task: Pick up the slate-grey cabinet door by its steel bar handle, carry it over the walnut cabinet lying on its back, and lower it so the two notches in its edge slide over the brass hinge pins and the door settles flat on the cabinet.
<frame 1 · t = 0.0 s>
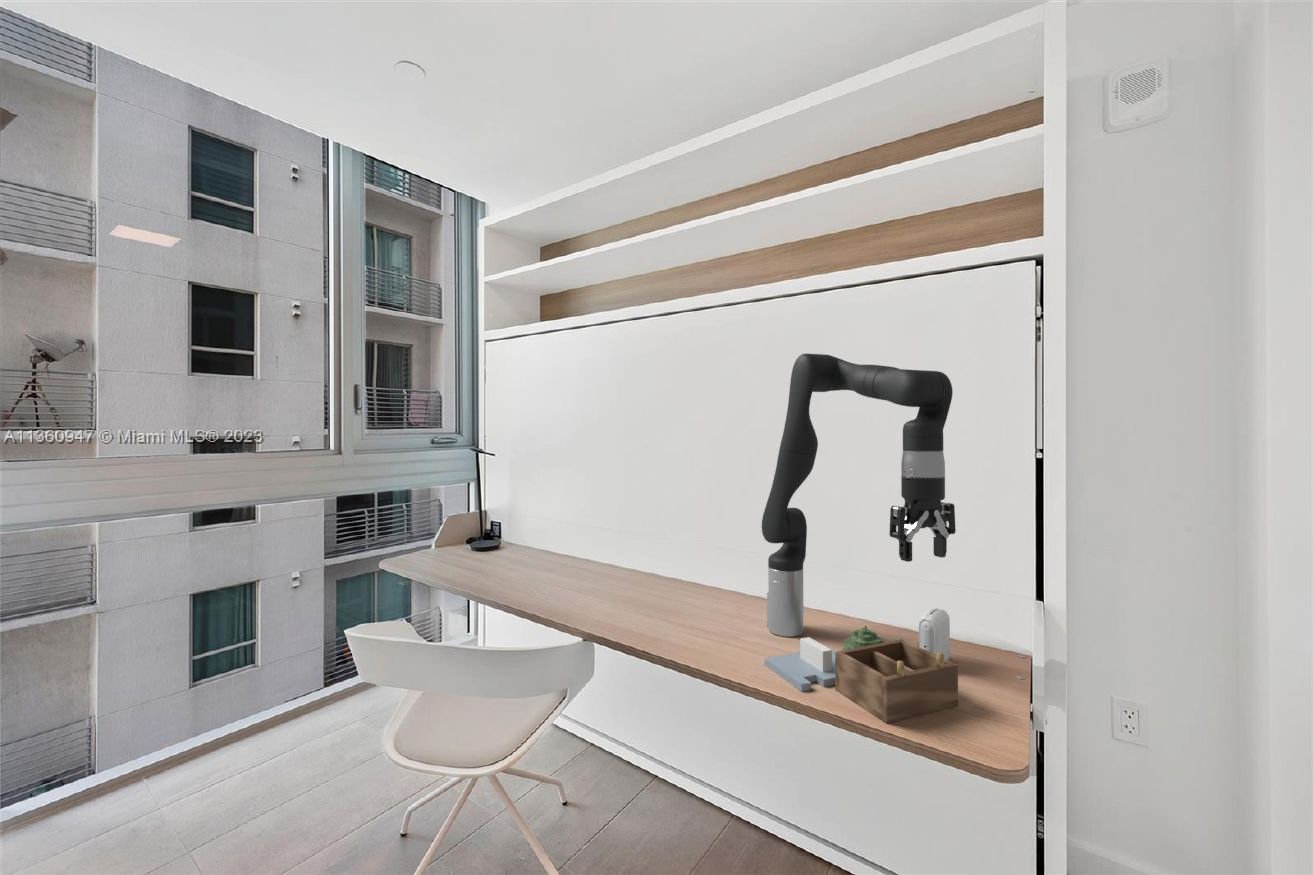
hand: (923, 558, 103), 29 cm above the table, tool pointing down, fingers open, 8 cm apart
decorative artifact: (865, 655, 129), on the table
photo printer: (934, 664, 124), on the table
door: (815, 670, 120), on the table
cabinet: (894, 697, 108), on the table
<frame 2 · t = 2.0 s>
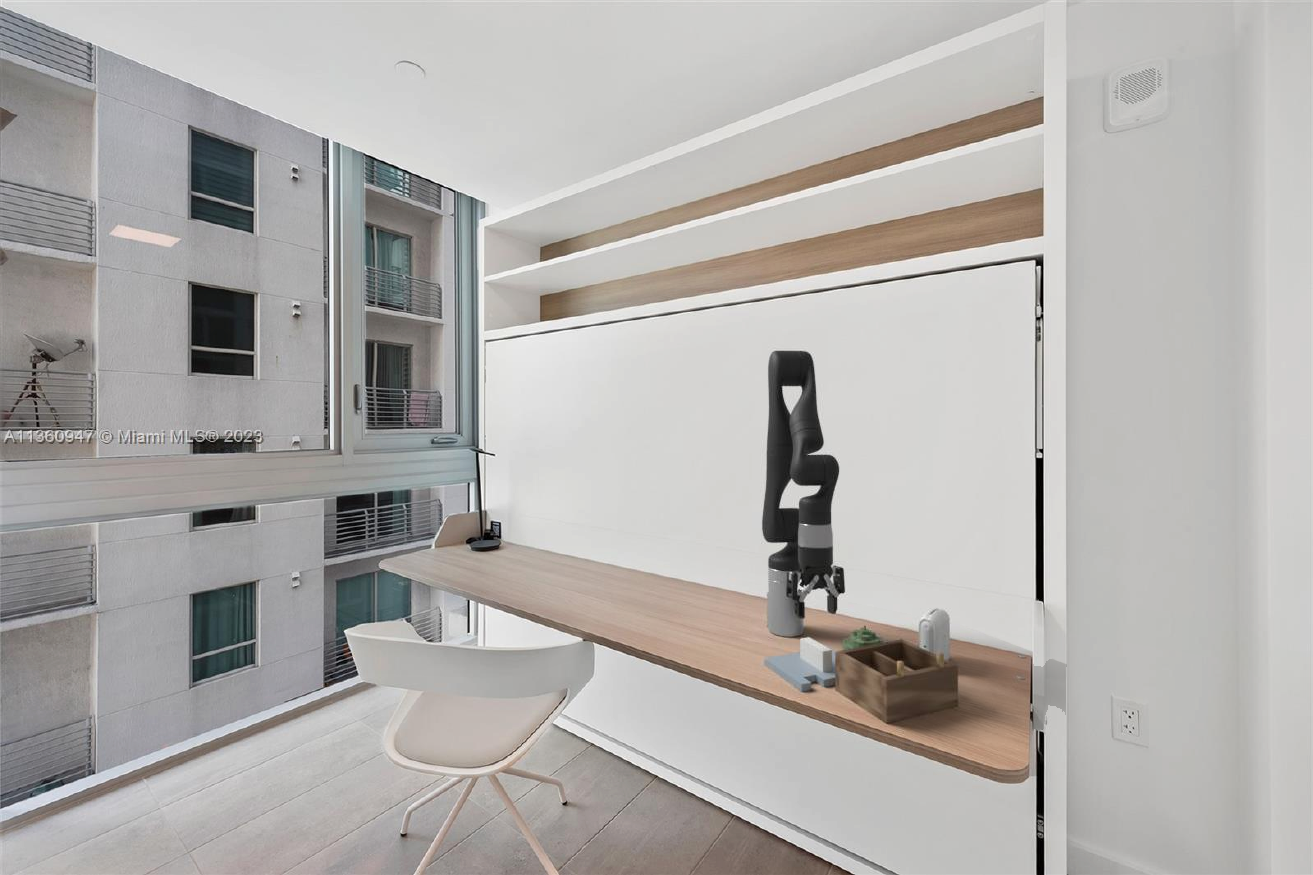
hand: (816, 615, 120), 13 cm above the table, tool pointing down, fingers open, 8 cm apart
nothing on the table moved.
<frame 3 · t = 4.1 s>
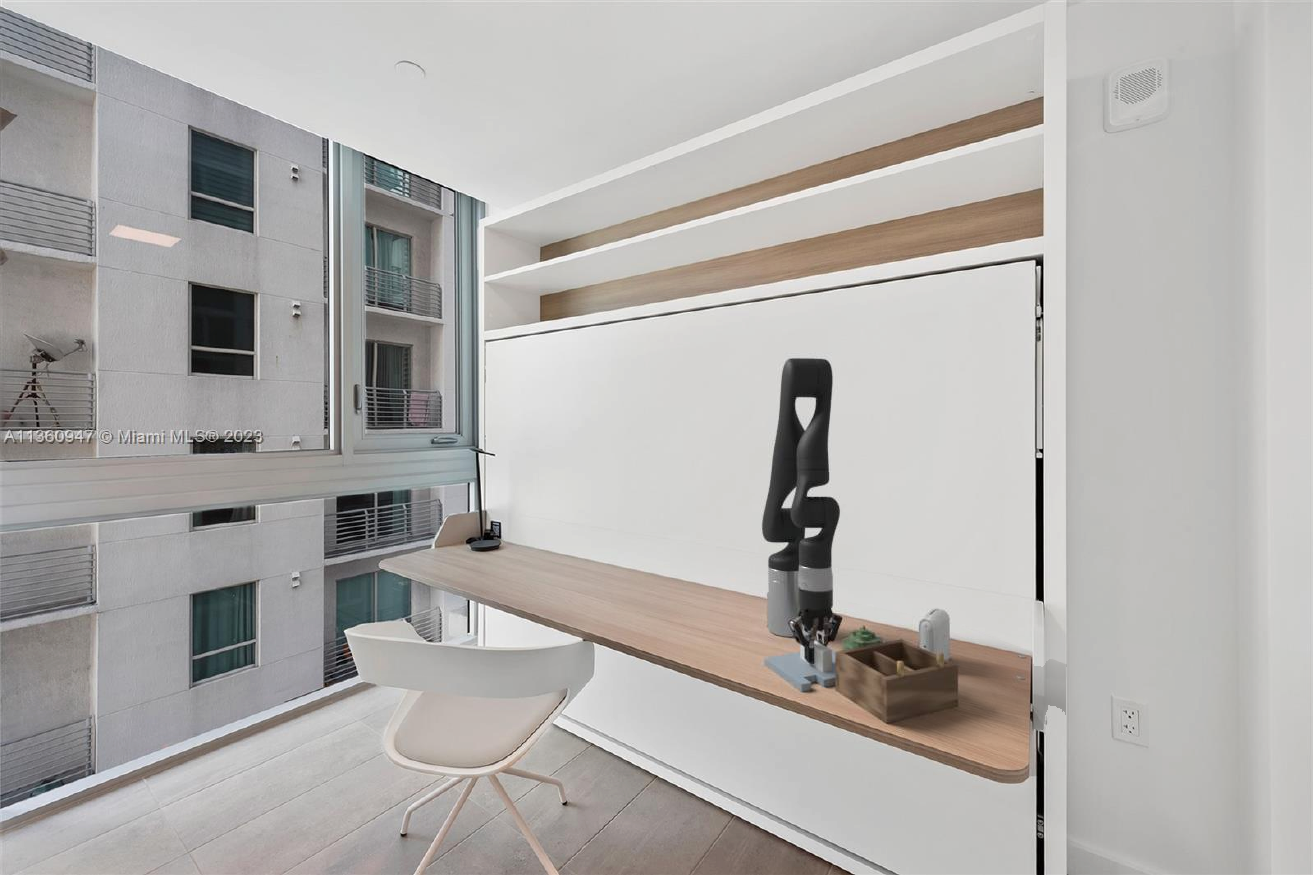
hand: (815, 661, 120), 2 cm above the table, tool pointing down, fingers closed on door, 2 cm apart
door: (815, 670, 120), on the table, touching gripper
everything else where it was.
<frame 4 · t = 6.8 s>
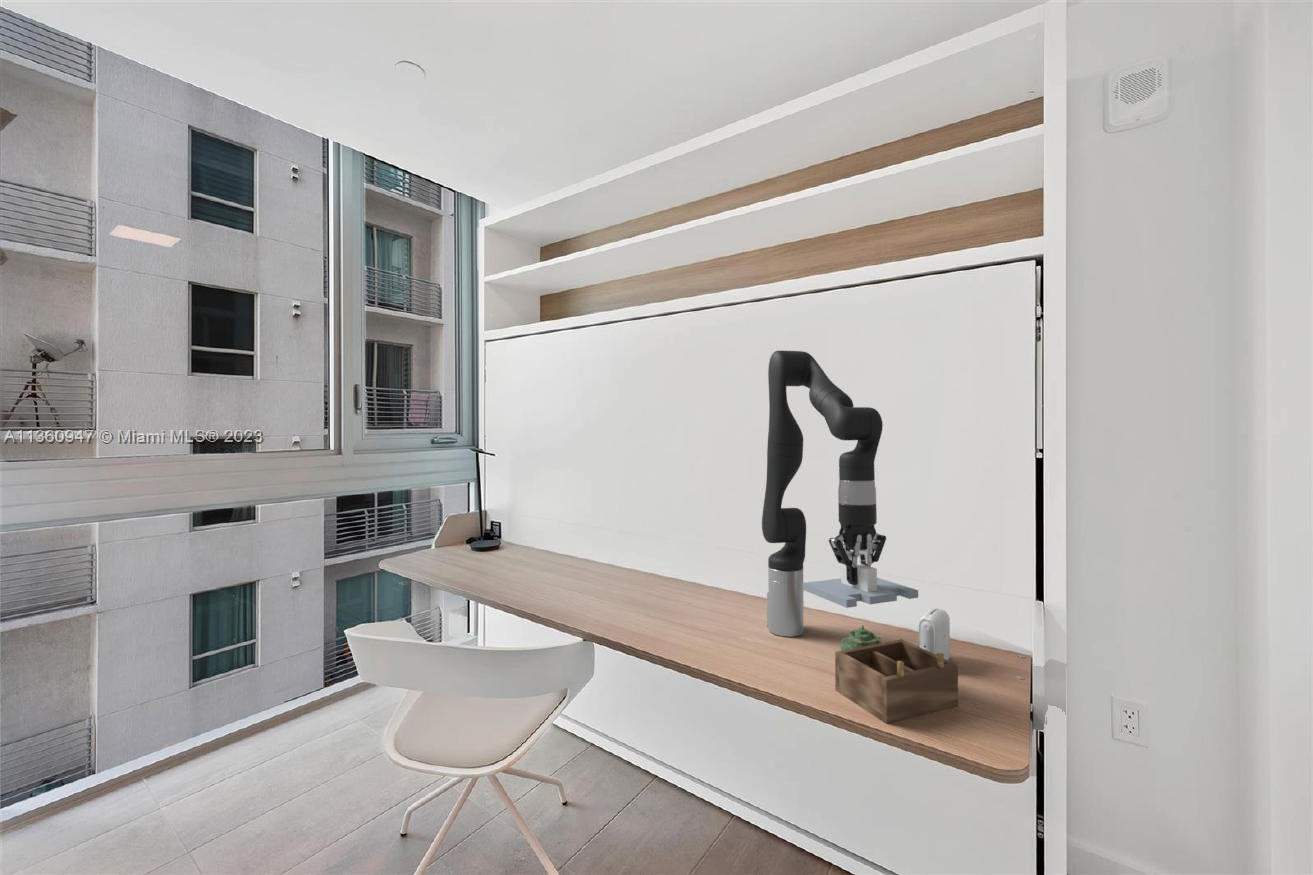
hand: (858, 583, 113), 22 cm above the table, tool pointing down, fingers closed on door, 2 cm apart
door: (858, 593, 113), point 20 cm above the table, touching gripper
everything else where it was.
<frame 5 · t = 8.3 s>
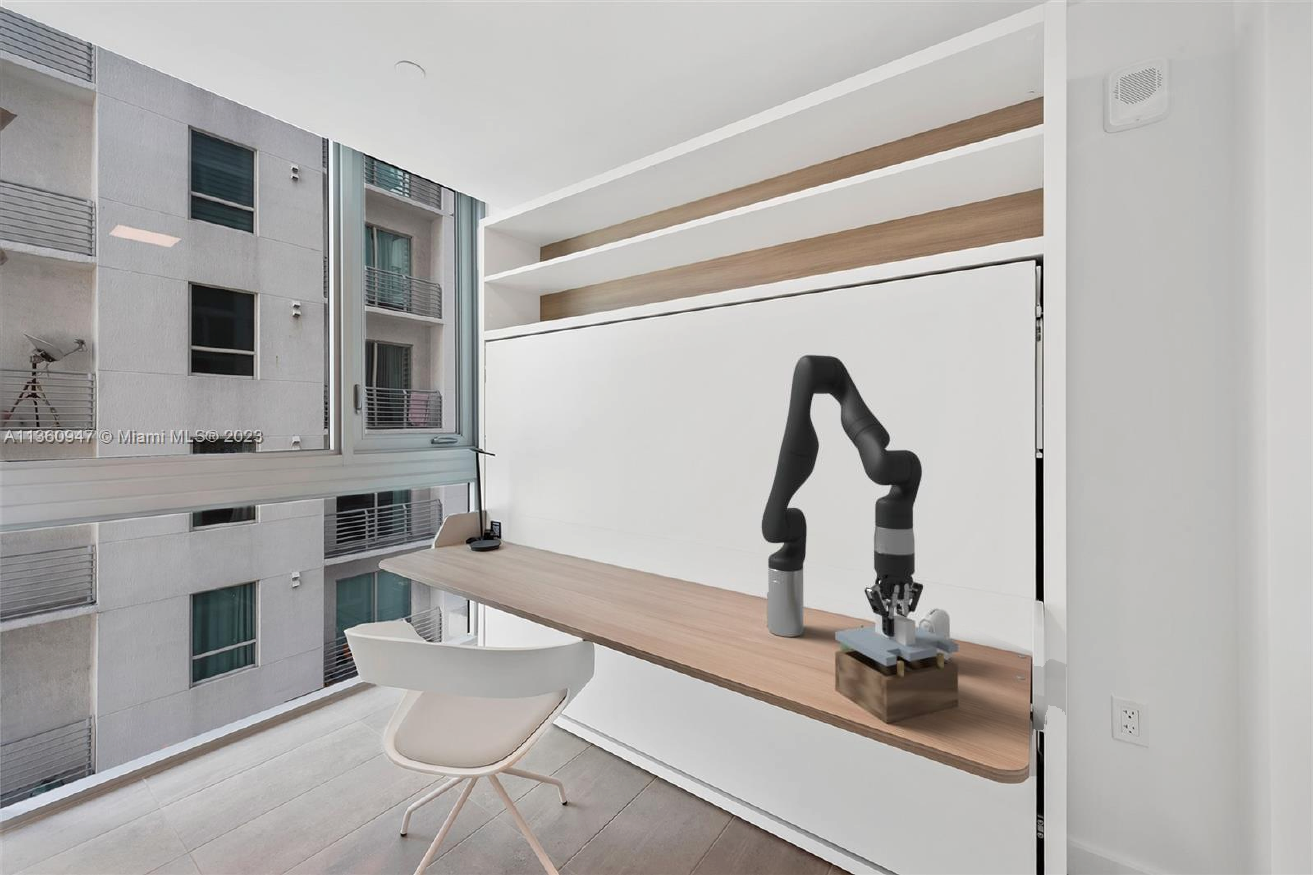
hand: (894, 634, 108), 13 cm above the table, tool pointing down, fingers closed on door, 2 cm apart
door: (894, 645, 108), point 11 cm above the table, touching gripper
everything else where it was.
when the fingers open (11 cm above the table, at t = 9.6 s): door stays where it is, resting on cabinet.
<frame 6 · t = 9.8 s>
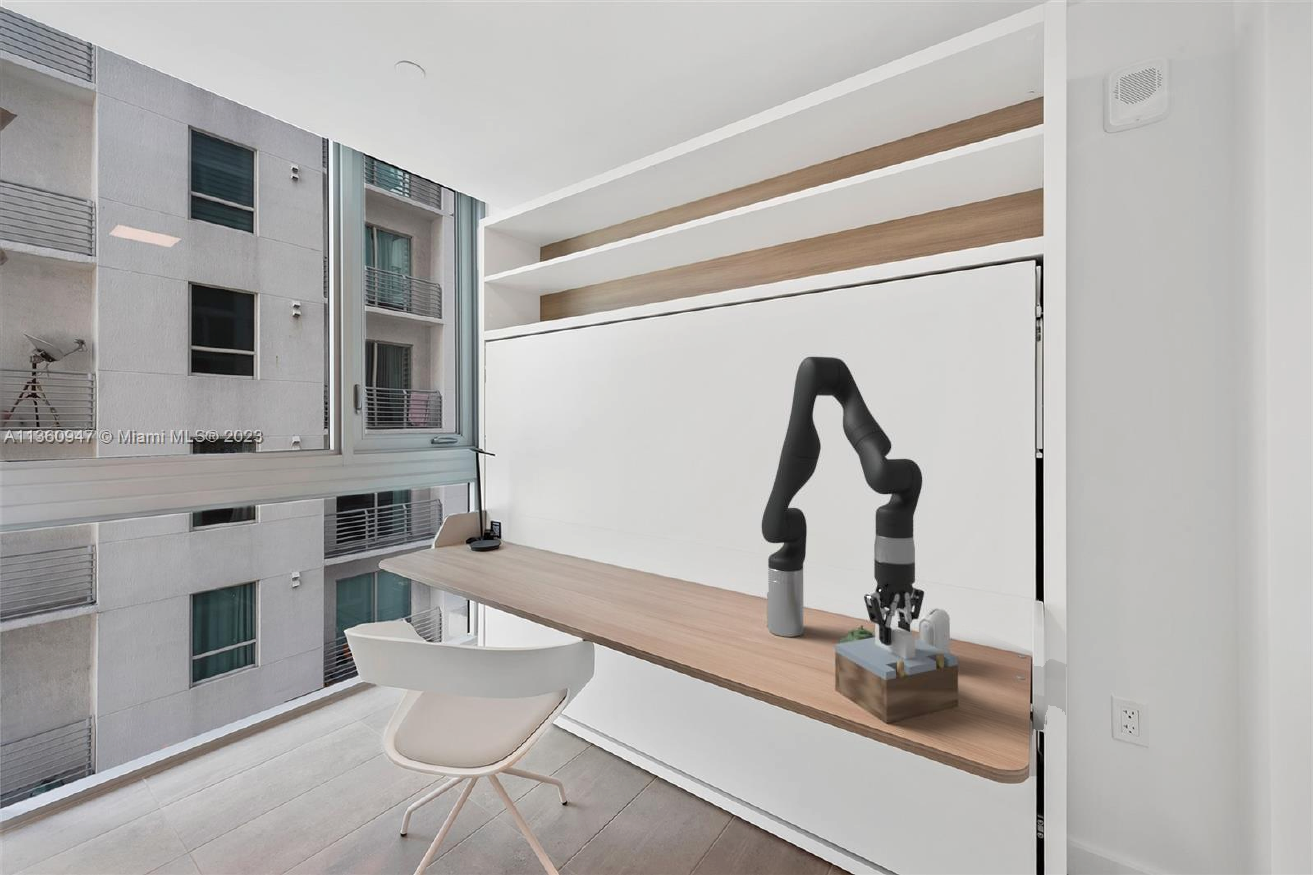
hand: (894, 642, 108), 11 cm above the table, tool pointing down, fingers open, 4 cm apart
door: (894, 657, 108), point 8 cm above the table, touching cabinet
everything else where it was.
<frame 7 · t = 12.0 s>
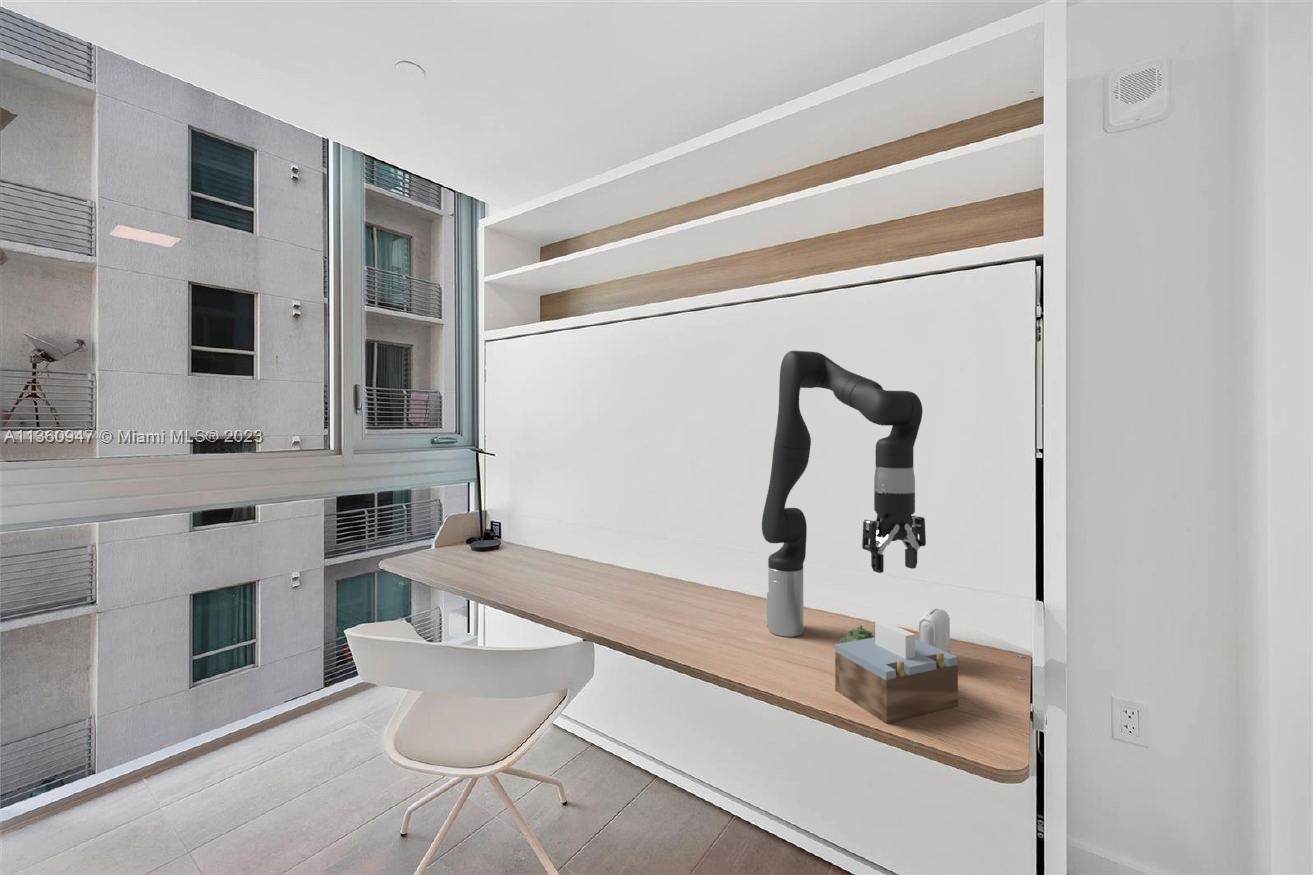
hand: (894, 569, 108), 26 cm above the table, tool pointing down, fingers open, 8 cm apart
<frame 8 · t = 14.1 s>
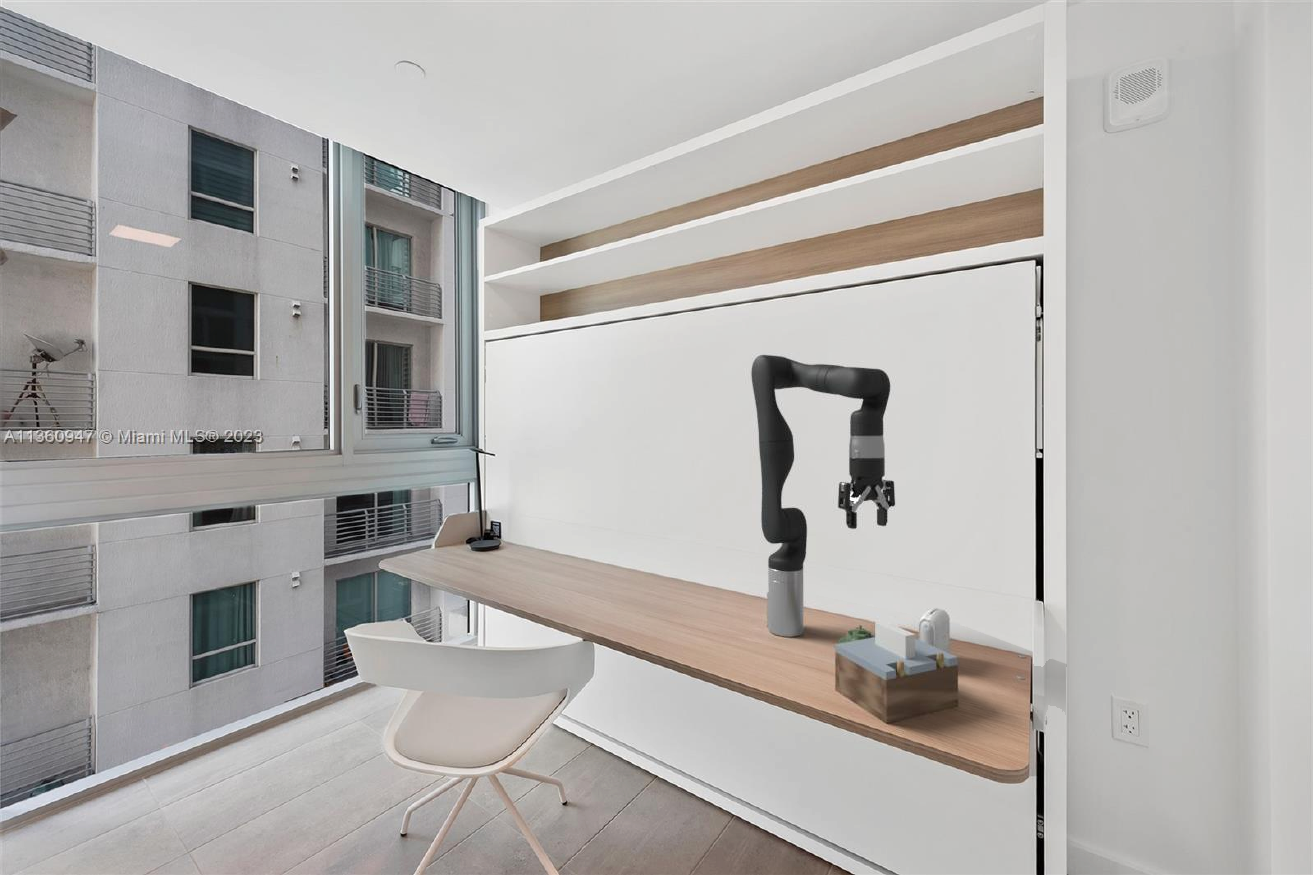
hand: (867, 526, 122), 32 cm above the table, tool pointing down, fingers open, 8 cm apart
at the end: door 0.1 cm off-centre on the cabinet, point 8.0 cm above the cabinet's base; door tilted 0°; the gripper is holding nothing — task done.
